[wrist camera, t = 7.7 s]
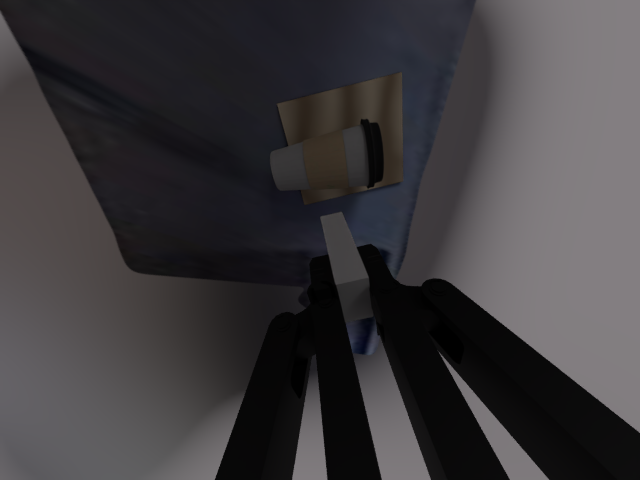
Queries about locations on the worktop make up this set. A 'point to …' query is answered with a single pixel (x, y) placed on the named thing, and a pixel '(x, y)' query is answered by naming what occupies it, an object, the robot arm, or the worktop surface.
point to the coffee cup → (331, 160)
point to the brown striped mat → (350, 124)
